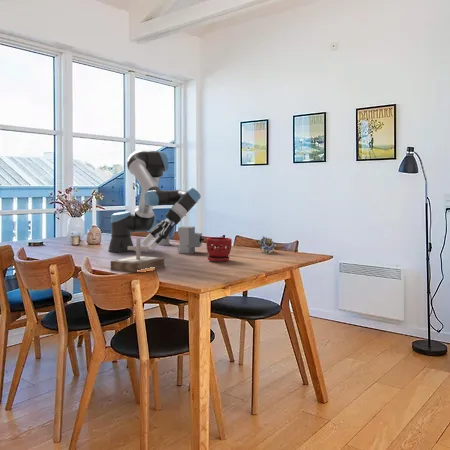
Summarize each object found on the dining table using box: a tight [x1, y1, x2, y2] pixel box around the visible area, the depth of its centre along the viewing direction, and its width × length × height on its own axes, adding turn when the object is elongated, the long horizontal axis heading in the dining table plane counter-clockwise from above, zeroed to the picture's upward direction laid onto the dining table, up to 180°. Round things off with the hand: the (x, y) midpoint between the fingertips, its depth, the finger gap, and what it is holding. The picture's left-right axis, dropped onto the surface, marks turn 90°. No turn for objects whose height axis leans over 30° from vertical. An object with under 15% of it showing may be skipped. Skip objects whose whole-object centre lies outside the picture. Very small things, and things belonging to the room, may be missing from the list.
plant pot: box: [206, 236, 233, 263], centre depth 246 cm, size 13×13×12 cm
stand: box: [110, 255, 165, 272], centre depth 225 cm, size 18×18×4 cm
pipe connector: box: [128, 237, 150, 259], centre depth 225 cm, size 10×10×10 cm
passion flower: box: [256, 235, 277, 255], centre depth 275 cm, size 11×11×12 cm
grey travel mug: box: [156, 221, 175, 246], centre depth 314 cm, size 9×14×15 cm, turn 54°
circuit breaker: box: [177, 225, 205, 254], centre depth 276 cm, size 8×14×15 cm, turn 78°
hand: (147, 246), depth 226 cm, fingers open, 13 cm apart
